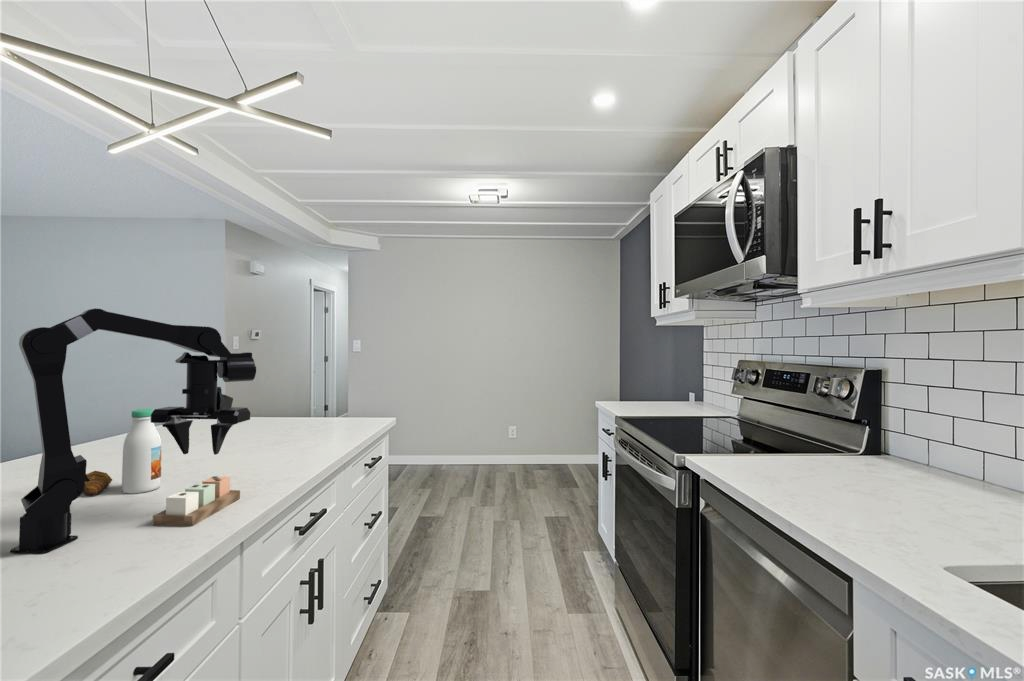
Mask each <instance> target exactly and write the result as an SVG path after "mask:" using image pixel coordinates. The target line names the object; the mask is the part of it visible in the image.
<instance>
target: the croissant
mask: <svg viewBox="0 0 1024 681" xmlns="http://www.w3.org/2000/svg"><path fill="white" fill-rule="evenodd" d="M86 475H87V477H88V479H89V480H90V481H89V482H86V481H84V482H85V489H84V491H83V493H82V494H83V495H86V496H90V497H92V496H96V495H99V494H101V493H103V492H104V491H105V490H106V489H107V488H108V487H109V486H110V484H111V483H112V481H113V478H112V477H111V476H110V475H109V474H108V473H107V472H104V471H103V472H102V471H99V470H93V471H91V472H88V473H86Z"/></svg>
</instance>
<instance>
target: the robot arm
mask: <svg viewBox="0 0 1024 681" xmlns="http://www.w3.org/2000/svg"><path fill="white" fill-rule="evenodd" d="M98 330H100V331H103V332H104V331H105V332H111V333H116V334H121V335H128V336H132V337H133V336H134V337H138V338H143V339H151V340H155V341H160V342H165V343H168V344H171V345H173V346H176V347H179V348H181V349H184V350H188V351H191V352H194V353H202V355H192V354H191V353H190V352H187V351H186V352H183V353H182V354H181V355H180V356H179V357H177V359H175V360H174V361H175V363H176V364H186V388H182V390H181V394H182V395H184V394H185V396H186V398H185V405H186V406H166V407H165V406H164V407H160V408H155V409H154V411H153V412H152V414H151V423H154V424H155V423H158V424H160V423H161V424H162V423H163V424H162V427H163V428H165V429H166V430H168V432H169V434H171V436H172V437H173V438H174V440H175V443H177V446H178V447H179V449H180V451H181V453H182V454H183V455H188V454H189V450H190V428H191V425H192V424H193V422H194V420H216V423H214V424H211V425H210V432H211V433H210V434H211V446H212V451H213V455H218V454H219V453H220V451H221V448H222V446H223V444H224V441H225V438H226V437H227V434H228V433H229V430H231V428H233V426H234V425H237V424H240V423H243V422H247V421H249V420H251V411H250V410H249V408H248V407H242V406H241V407H235V406H232V405H233V401H234V398H233V397H231V396H229V395H226V394H223V393H222V387H221V386H218V379H222V381H223V382H224V383H232V382H234V383H235V382H237V383H238V382H252V381H253V380H255V377H256V374H257V366H256V362H255V359H254V358H253V353H252V352H249V351H247V352H245V351H243V352H237V353H236V352H233V353H231V352H230V350H229V349H228V348H227V347H226V346H225V344H224V343H223V342H222V336H221V334H220V332H219V330H217V329H216V328H214V327H212V326H204V325H203V326H199V325H181V324H179V325H178V324H177V325H176V324H171V323H170V324H169V323H165V322H160V321H155V320H151V319H145V318H141V317H135V316H130V315H125V314H121V313H116V312H111V311H107V310H105V309H102V308H91V309H87V310H85V311H83V312H82V313H80V314H78V315H75V316H73V317H71V318H69V319H66V320H64V321H62V322H60V323H56V324H55V325H53V326H51V327H43V326H42V327H35V328H31V329H28V330H26V331H25V332H24V333H23V334H22V335H21V336H20V337H19V341H18V346H19V349H20V352H21V354H22V356H23V359H24V361H25V364H26V367H27V369H28V371H29V373H30V375H31V378H32V381H33V390H34V397H35V404H36V412H37V419H38V425H39V435H40V441H41V449H42V450H41V451H42V456H41V460H40V465H39V472H38V481H37V485H36V486H35V487H34V488H33V489H32V490H31V491H29V492H28V493H27V494H26V495H24V496H22V498H21V500H20V501H21V503H22V506H23V509H24V511H25V513H23V515H21V516H20V517H19V529H18V530H19V538H18V546H14V547H12V548H10V549H9V553H18V554H19V553H21V554H22V553H23V554H25V553H26V554H28V553H29V554H30V553H32V554H44V553H48V552H51V551H53V550H55V549H57V548H60V547H63V546H64V545H66V544H69V543H71V542H73V541H75V540H77V539H79V535H71V534H72V513H71V505H72V504H73V501H75V500H77V499H78V498H79V497H80V496H81V495H82V494H84V493H83V491H84V489H85V482H84V481H86V482H89V481H90V480H89V479H88V477H87V475H86V474H87V465H88V464H87V459H86V458H84V457H83V455H81V454H79V455H76V456H74V453H73V451H72V443H71V436H70V428H69V421H68V412H67V404H66V398H65V389H64V388H65V387H64V383H63V382H64V381H63V374H64V369H65V364H66V358H67V351H68V350H67V348H68V346H69V345H70V344H73V343H75V342H77V341H79V340H81V339H82V338H85V337H86V336H89V335H90V334H92V333H94V332H96V331H98ZM203 353H204V355H203ZM209 357H213V358H214V357H215V358H219V359H210V358H209Z"/></svg>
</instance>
